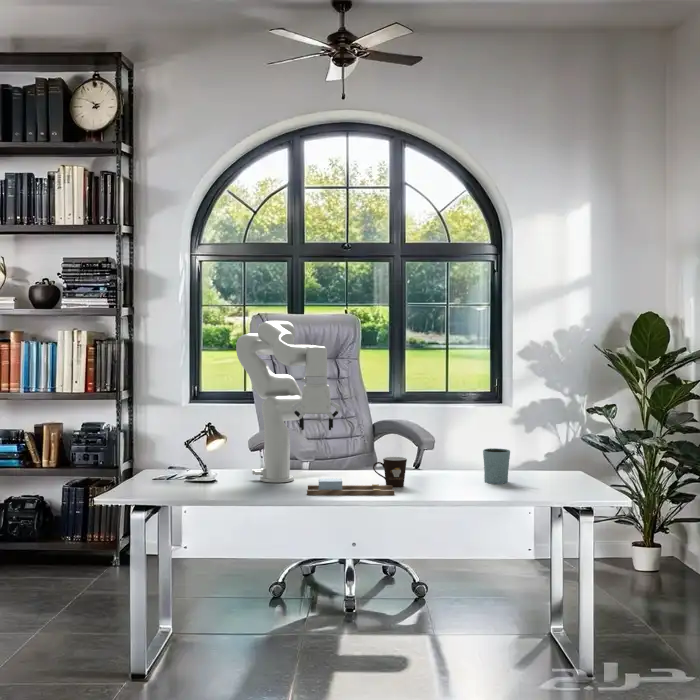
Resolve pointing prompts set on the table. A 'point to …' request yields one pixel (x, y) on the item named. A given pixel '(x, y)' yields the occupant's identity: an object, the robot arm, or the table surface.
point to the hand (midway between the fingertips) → (316, 429)
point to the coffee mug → (393, 470)
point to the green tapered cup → (496, 465)
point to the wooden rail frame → (353, 490)
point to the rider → (330, 484)
